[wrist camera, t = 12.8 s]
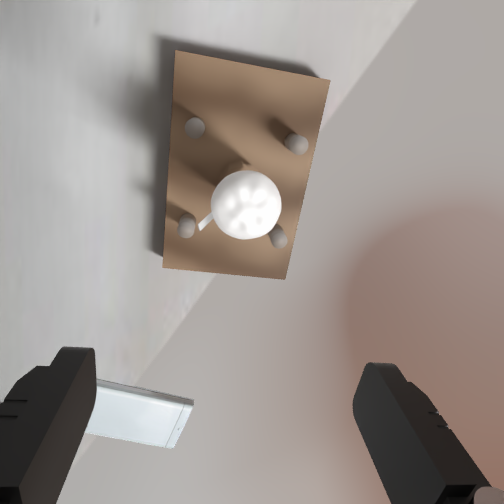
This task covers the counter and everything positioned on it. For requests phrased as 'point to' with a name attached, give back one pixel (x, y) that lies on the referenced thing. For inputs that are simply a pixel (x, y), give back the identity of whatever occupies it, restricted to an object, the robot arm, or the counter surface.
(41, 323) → the counter surface
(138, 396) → the hard drive
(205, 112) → the peg plinth
